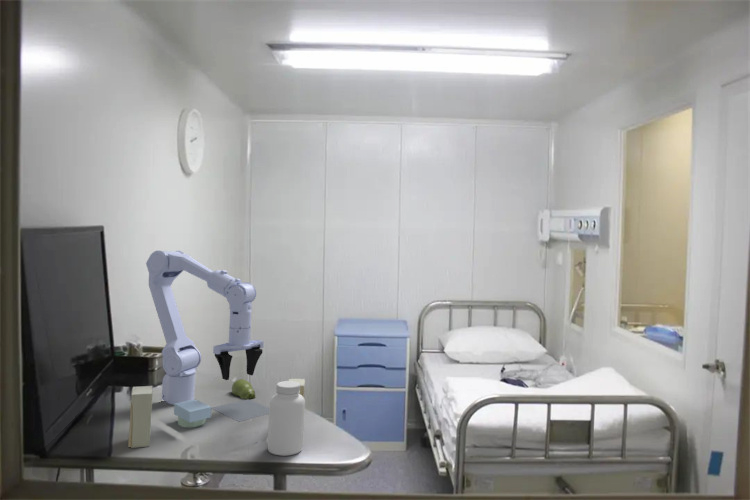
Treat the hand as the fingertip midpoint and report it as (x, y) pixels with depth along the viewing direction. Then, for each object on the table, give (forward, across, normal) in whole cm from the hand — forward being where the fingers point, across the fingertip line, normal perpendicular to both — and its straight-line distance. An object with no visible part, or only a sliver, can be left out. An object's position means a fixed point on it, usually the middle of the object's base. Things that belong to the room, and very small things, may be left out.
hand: (238, 376), depth 133 cm
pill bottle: (+10, -5, -28) cm, 30 cm away
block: (+7, -14, -2) cm, 16 cm away
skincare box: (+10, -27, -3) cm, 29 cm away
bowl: (+10, -14, -2) cm, 17 cm away
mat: (+10, +1, -2) cm, 10 cm away
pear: (+10, +8, +9) cm, 16 cm away
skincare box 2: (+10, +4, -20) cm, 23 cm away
